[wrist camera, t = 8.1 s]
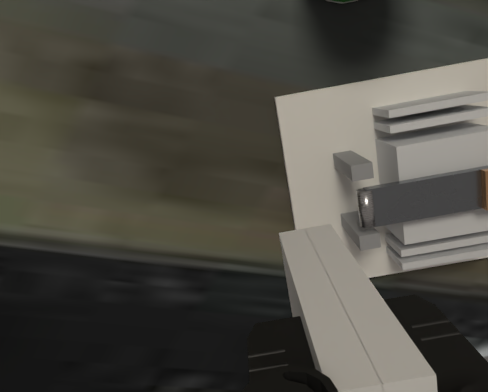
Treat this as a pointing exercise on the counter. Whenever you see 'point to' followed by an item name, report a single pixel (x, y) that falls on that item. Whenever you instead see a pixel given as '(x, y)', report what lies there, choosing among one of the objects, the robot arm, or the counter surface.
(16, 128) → the counter surface
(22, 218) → the counter surface
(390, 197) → the lever
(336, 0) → the soda can
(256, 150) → the counter surface
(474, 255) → the heatsink base
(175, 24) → the counter surface
